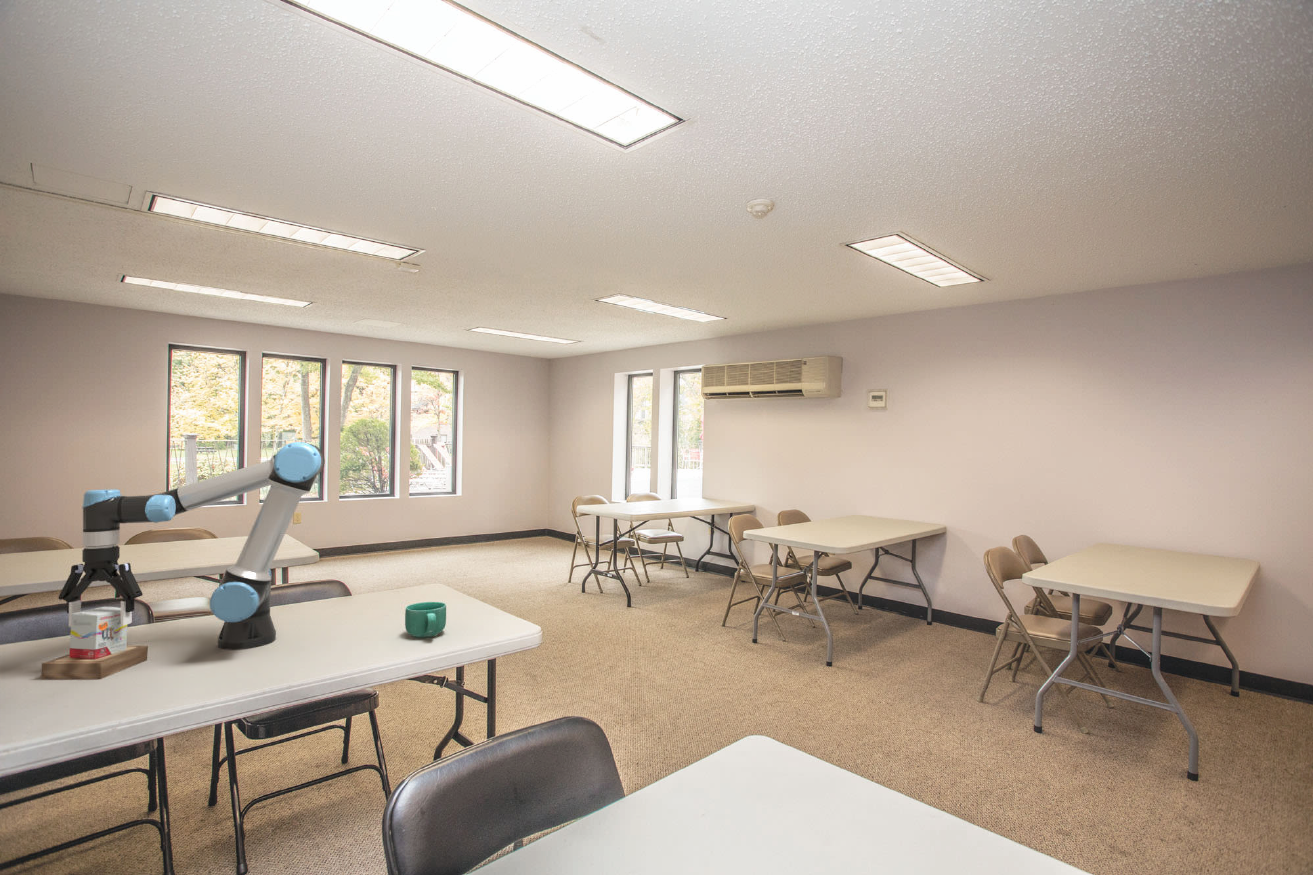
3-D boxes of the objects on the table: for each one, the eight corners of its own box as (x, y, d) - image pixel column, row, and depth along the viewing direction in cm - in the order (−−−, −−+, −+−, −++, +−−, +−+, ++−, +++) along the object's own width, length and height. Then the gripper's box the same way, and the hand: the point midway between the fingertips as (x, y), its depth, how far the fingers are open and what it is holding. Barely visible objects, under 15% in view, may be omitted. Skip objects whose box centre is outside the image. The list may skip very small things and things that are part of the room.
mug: (403, 632, 203) (404, 603, 203) (443, 628, 208) (444, 599, 208) (406, 646, 188) (407, 615, 188) (449, 641, 193) (450, 611, 194)
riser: (147, 659, 173) (147, 645, 174) (100, 678, 158) (101, 662, 159) (92, 660, 173) (93, 645, 173) (41, 679, 158) (41, 663, 158)
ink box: (94, 659, 161) (96, 614, 161) (68, 657, 162) (69, 612, 163) (128, 649, 169) (129, 606, 170) (102, 648, 171) (103, 605, 171)
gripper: (158, 543, 171) (158, 620, 170) (67, 545, 170) (66, 621, 170) (136, 547, 164) (136, 627, 163) (40, 549, 163) (39, 629, 162)
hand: (100, 624), depth 166 cm, fingers open, 13 cm apart
